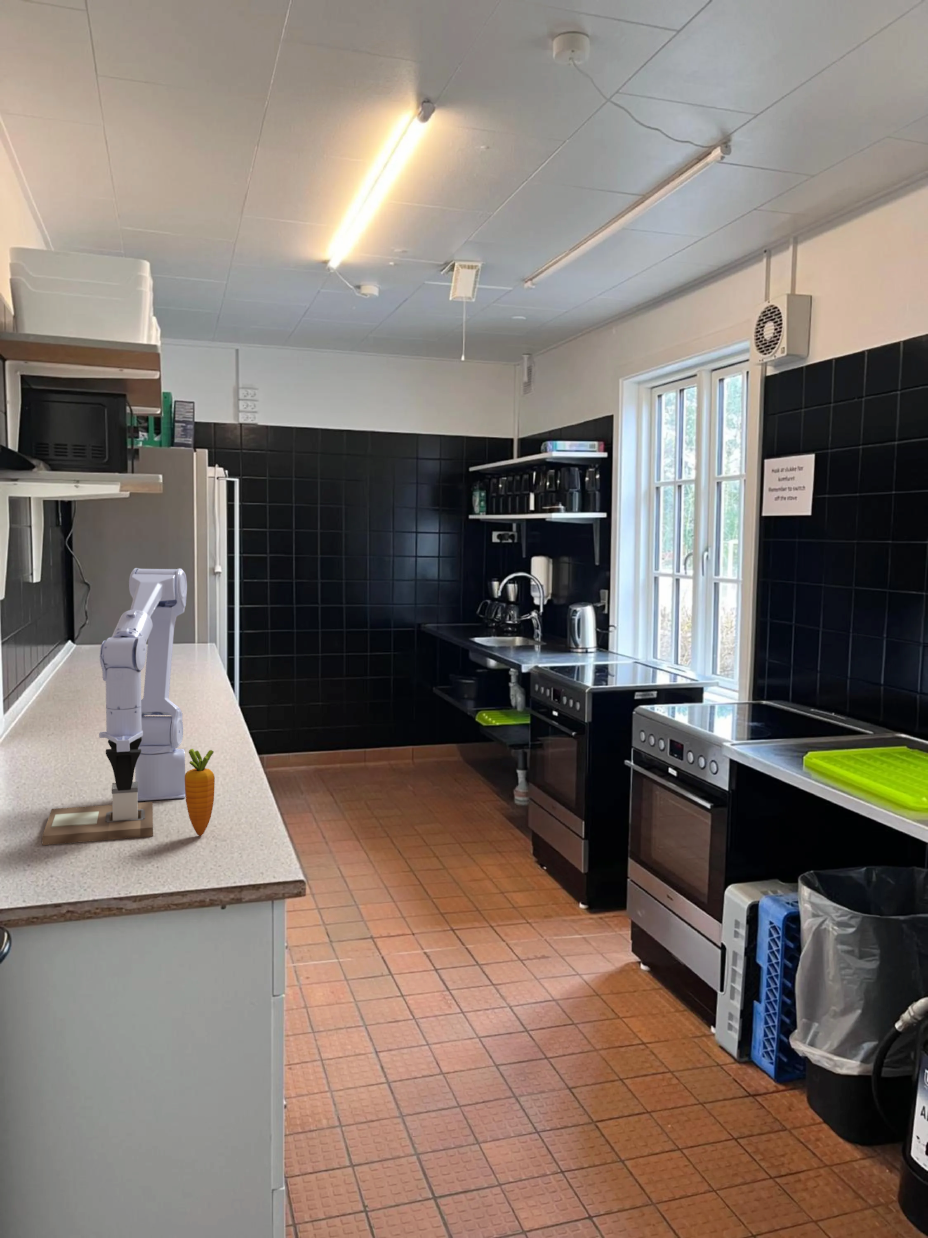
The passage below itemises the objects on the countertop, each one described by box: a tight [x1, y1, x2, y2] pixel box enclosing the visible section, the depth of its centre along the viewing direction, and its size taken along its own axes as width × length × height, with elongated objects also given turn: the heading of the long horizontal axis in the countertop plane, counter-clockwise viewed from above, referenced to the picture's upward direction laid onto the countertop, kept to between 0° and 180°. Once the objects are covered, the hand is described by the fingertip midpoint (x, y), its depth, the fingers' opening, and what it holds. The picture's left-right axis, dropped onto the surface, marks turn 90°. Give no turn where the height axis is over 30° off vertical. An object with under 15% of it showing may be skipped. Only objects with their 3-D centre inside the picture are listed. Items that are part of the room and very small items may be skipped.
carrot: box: [185, 748, 216, 837], centre depth 157 cm, size 5×5×15 cm
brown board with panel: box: [41, 801, 154, 846], centre depth 162 cm, size 17×16×2 cm
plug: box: [111, 781, 139, 821], centre depth 163 cm, size 4×4×7 cm
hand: (124, 784), depth 162 cm, fingers open, 7 cm apart
